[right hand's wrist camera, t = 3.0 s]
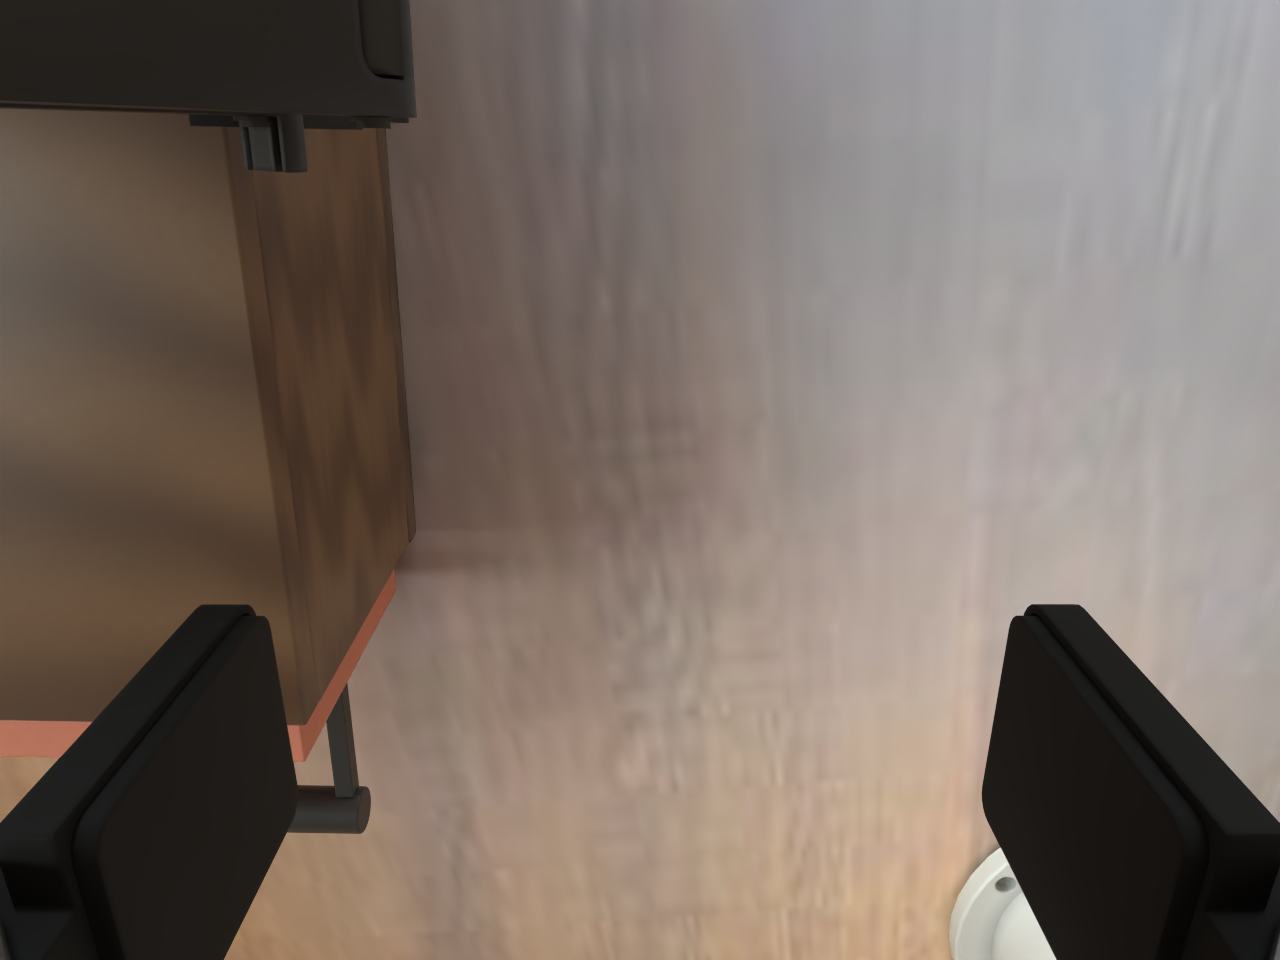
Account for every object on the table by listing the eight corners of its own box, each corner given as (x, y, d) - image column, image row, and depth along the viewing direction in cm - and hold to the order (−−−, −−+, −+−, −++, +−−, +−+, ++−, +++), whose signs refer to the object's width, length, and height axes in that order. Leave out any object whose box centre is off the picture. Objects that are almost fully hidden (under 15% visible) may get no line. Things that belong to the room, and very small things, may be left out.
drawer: (408, 722, 36) (327, 927, 26) (178, 718, 35) (19, 922, 26) (346, 8, 26) (192, -52, 17) (38, 2, 26) (-277, -62, 17)
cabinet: (416, 531, 34) (307, 727, 23) (140, 526, 34) (-102, 719, 23) (367, -113, 26) (170, -281, 15) (13, -120, 26) (-436, -294, 15)
